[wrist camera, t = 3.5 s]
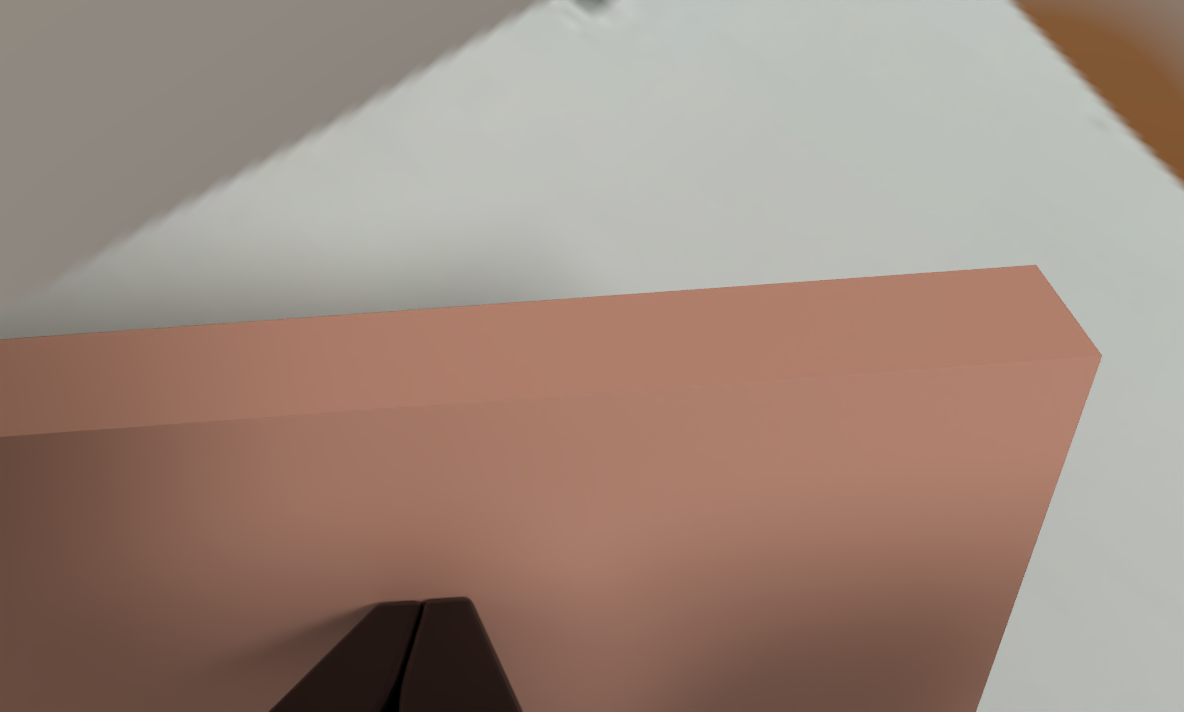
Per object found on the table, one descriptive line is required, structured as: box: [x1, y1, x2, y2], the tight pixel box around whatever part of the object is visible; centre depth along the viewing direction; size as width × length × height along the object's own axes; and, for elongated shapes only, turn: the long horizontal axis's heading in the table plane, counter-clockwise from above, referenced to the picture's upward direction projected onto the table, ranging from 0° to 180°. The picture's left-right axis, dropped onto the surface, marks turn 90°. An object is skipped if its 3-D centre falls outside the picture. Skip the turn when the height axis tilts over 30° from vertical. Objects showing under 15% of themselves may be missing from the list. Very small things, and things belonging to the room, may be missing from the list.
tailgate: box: [0, 265, 1102, 712], centre depth 11 cm, size 1×12×9 cm
